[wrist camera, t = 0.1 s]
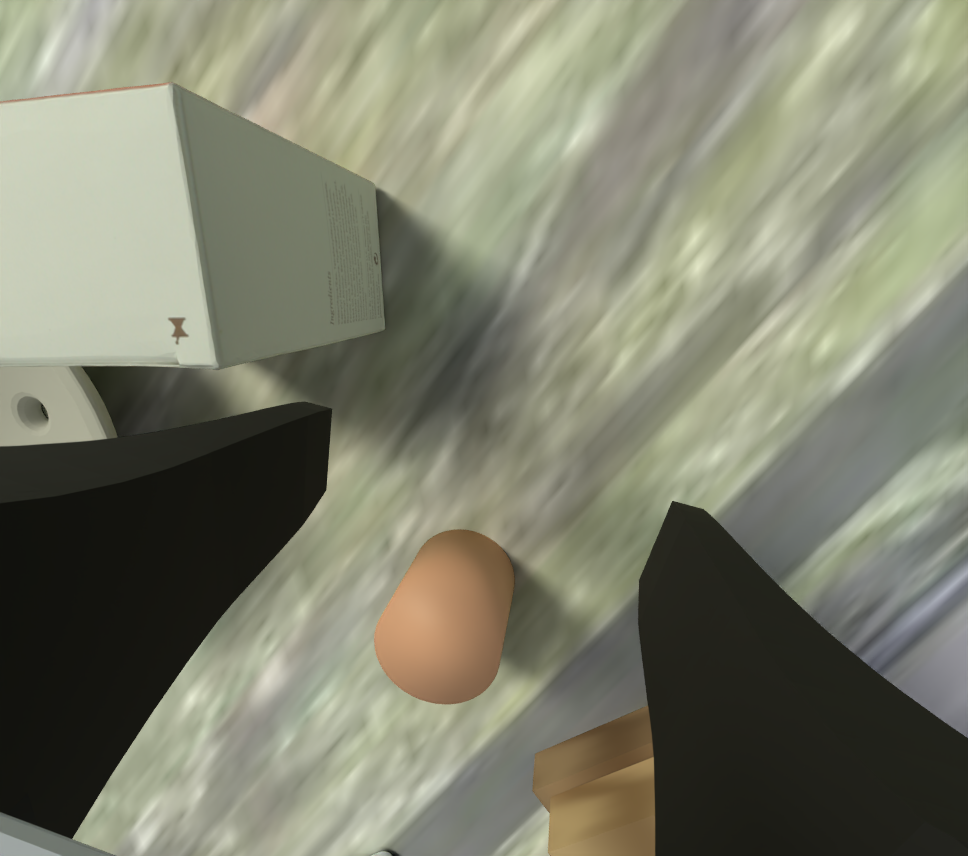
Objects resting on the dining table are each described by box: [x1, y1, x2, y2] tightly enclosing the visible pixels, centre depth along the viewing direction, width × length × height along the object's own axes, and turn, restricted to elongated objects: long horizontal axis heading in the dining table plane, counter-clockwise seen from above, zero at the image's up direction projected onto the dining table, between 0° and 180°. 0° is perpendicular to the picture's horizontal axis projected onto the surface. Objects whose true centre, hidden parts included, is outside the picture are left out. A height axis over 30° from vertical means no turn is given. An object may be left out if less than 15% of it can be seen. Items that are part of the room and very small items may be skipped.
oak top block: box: [548, 757, 655, 856], centre depth 22 cm, size 6×6×2 cm
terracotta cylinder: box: [374, 529, 515, 704], centre depth 21 cm, size 5×5×5 cm
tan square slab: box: [533, 706, 654, 813], centre depth 24 cm, size 7×7×2 cm
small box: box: [0, 82, 385, 370], centre depth 16 cm, size 8×6×10 cm
